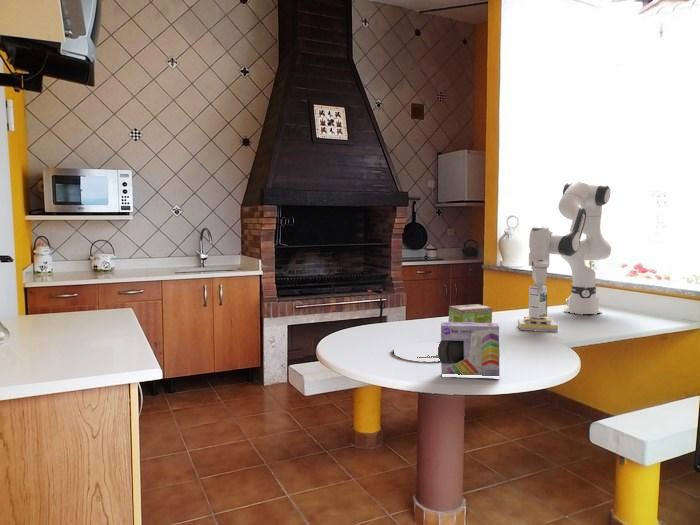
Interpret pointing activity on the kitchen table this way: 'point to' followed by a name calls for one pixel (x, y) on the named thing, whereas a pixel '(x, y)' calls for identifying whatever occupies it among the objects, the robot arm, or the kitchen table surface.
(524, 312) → the kitchen table surface
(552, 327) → the dock
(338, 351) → the kitchen table surface
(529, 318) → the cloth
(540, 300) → the syrup box
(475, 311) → the tea box
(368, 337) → the kitchen table surface
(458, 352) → the cake pan box
